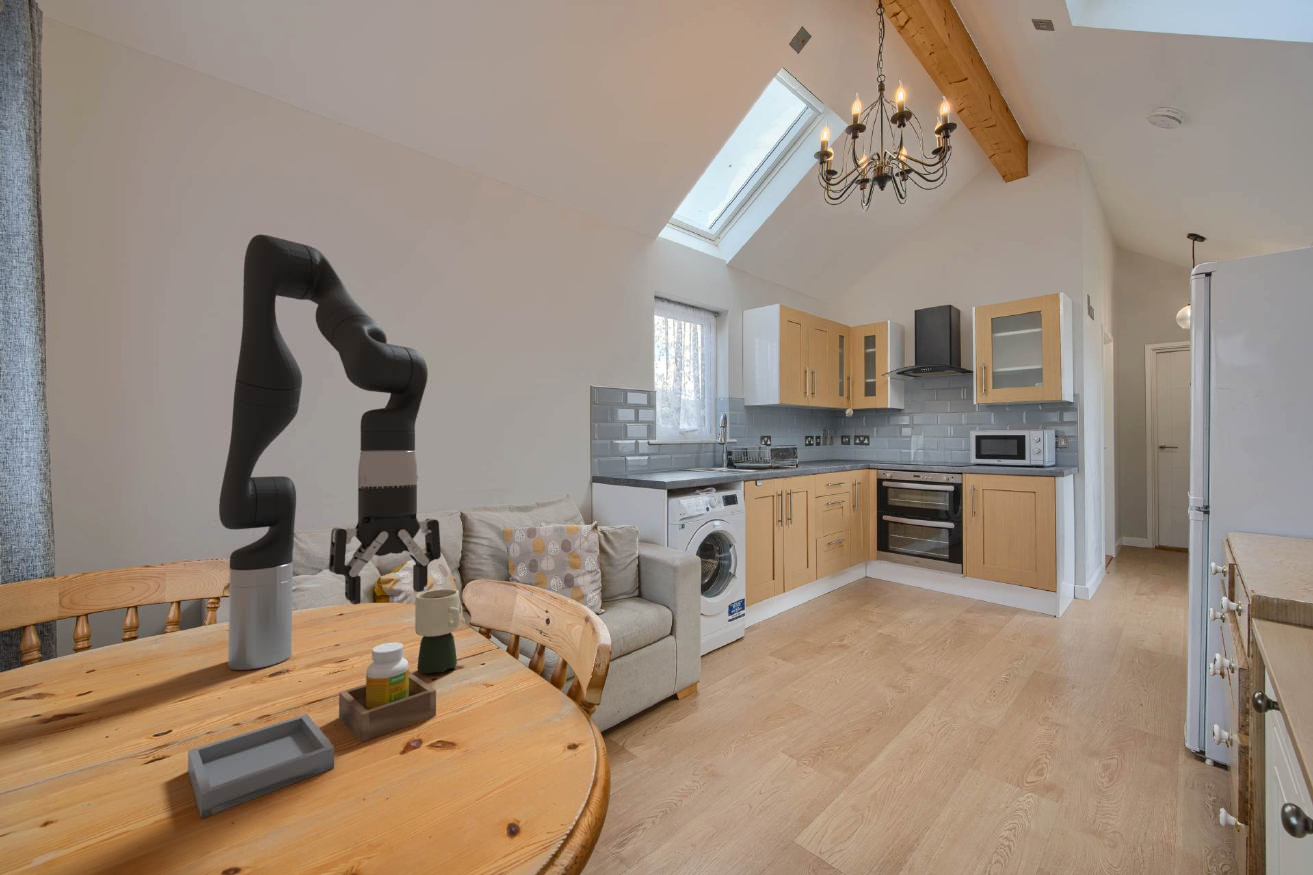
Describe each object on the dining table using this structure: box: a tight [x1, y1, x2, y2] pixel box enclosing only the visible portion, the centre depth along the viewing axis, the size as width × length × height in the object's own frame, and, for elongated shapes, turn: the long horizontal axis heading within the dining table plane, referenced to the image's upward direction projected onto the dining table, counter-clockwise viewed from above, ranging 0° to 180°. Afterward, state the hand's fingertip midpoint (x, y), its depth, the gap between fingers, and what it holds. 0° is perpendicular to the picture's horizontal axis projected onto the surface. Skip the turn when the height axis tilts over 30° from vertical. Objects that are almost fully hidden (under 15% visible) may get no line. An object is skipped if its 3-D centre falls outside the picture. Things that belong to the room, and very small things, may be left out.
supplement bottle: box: [365, 642, 410, 710], centre depth 76 cm, size 5×5×10 cm
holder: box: [338, 671, 437, 743], centre depth 76 cm, size 10×10×4 cm
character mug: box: [414, 588, 461, 674], centre depth 92 cm, size 11×7×13 cm, turn 59°
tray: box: [187, 713, 335, 819], centre depth 63 cm, size 12×12×2 cm
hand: (387, 596), depth 76 cm, fingers open, 8 cm apart
